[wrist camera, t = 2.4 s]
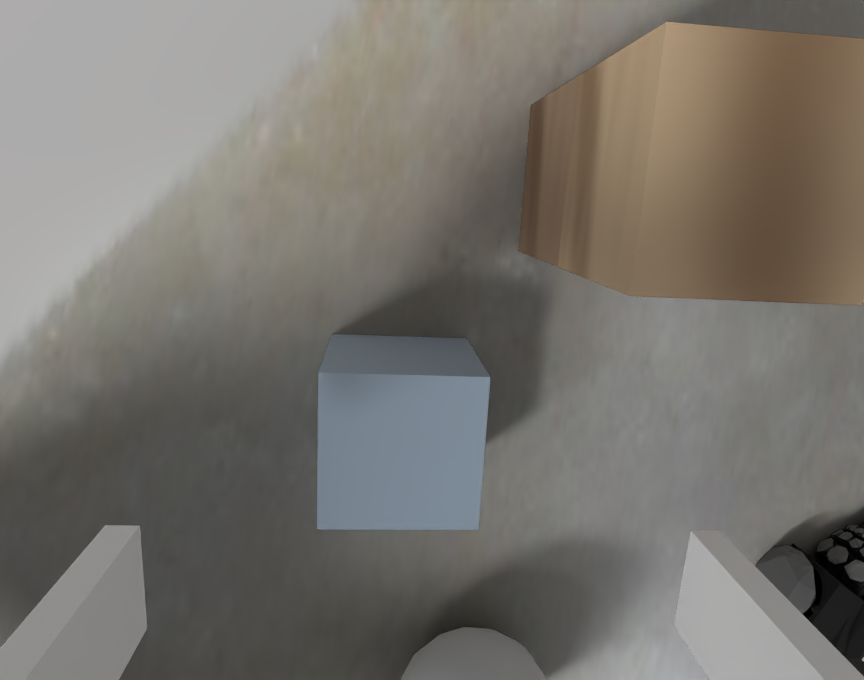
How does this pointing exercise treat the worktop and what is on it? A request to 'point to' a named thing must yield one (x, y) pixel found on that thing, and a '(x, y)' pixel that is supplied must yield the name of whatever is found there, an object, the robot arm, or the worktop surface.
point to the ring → (825, 586)
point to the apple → (473, 658)
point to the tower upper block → (720, 167)
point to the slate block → (400, 433)
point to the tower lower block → (547, 173)
